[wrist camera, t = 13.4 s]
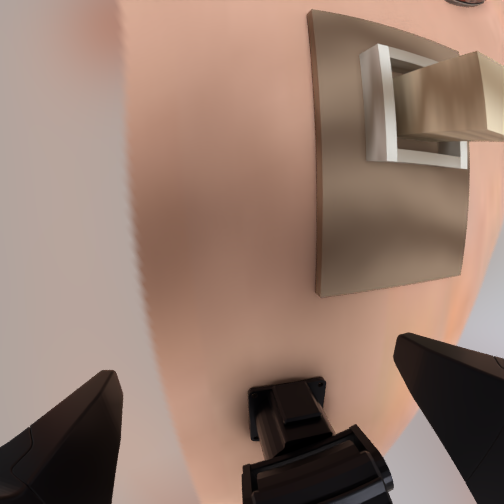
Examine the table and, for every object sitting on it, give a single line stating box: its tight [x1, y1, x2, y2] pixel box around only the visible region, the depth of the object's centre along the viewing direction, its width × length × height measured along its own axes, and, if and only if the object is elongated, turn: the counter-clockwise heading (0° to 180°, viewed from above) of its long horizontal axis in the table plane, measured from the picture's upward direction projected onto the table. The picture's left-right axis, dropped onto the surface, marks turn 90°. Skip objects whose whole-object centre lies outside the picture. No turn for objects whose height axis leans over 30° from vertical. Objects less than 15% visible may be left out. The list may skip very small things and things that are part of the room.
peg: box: [392, 51, 504, 142], centre depth 14 cm, size 4×4×9 cm
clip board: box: [307, 9, 470, 298], centre depth 18 cm, size 20×14×4 cm
